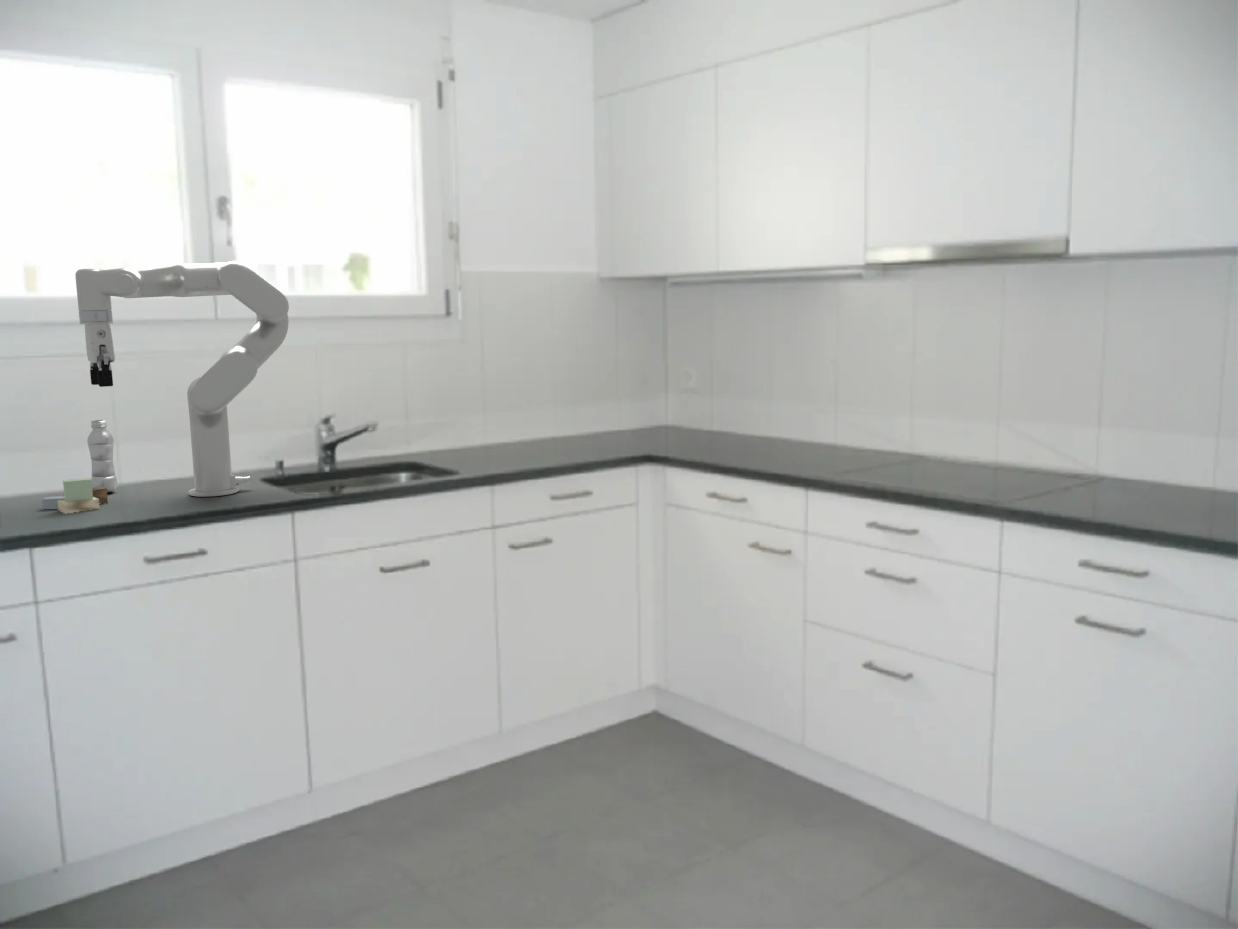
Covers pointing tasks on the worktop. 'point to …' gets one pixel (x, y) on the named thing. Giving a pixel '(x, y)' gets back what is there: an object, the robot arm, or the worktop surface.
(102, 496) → the walnut brick
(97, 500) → the birch brick
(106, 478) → the plastic bottle
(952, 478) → the worktop surface
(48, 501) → the slate brick
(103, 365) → the robot arm
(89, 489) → the sage brick
